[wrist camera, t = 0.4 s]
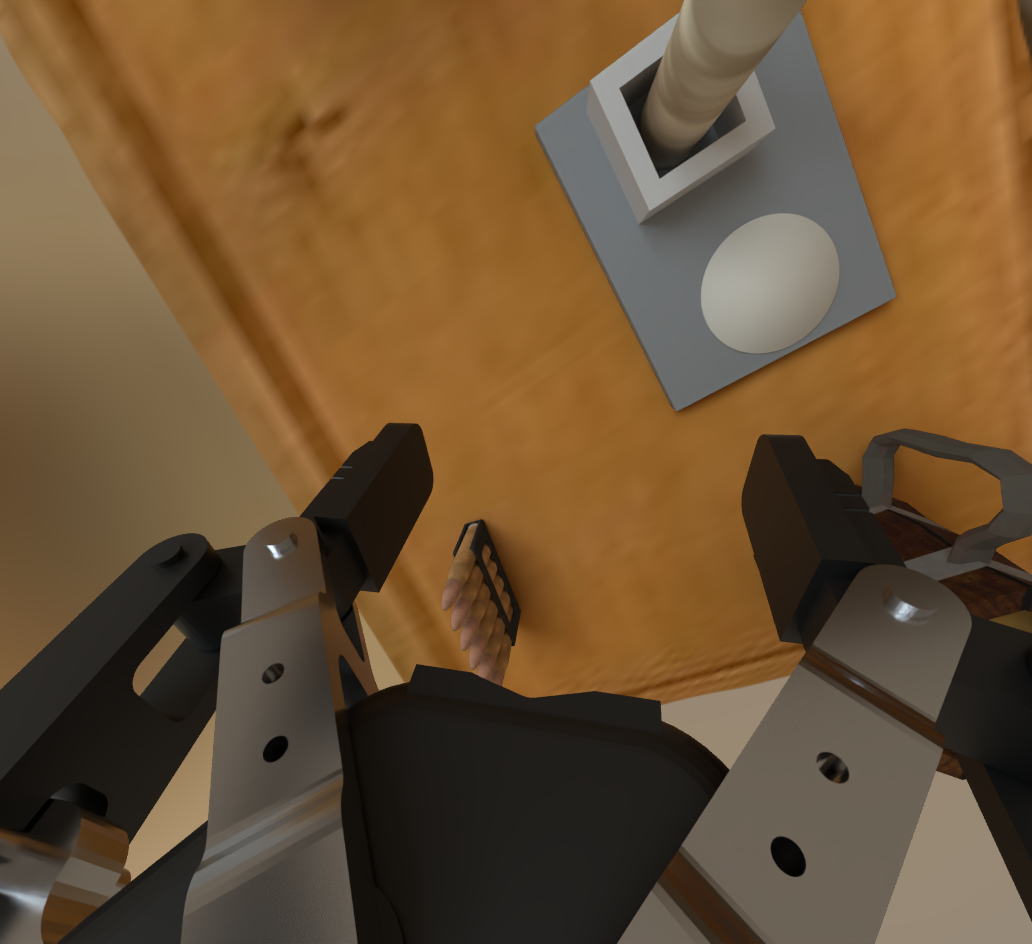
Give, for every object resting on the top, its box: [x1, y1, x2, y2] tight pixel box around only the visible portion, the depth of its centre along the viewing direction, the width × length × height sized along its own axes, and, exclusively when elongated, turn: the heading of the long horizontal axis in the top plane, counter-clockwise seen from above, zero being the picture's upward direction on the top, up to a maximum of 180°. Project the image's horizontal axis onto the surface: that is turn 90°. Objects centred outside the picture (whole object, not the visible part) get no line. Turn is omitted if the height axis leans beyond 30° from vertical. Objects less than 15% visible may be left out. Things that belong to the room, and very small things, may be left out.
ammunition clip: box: [442, 519, 521, 686], centre depth 36 cm, size 11×2×12 cm, turn 20°
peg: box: [637, 0, 806, 169], centre depth 22 cm, size 4×4×14 cm
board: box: [535, 11, 897, 412], centre depth 28 cm, size 22×16×6 cm
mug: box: [754, 429, 1032, 780], centre depth 30 cm, size 20×14×15 cm
